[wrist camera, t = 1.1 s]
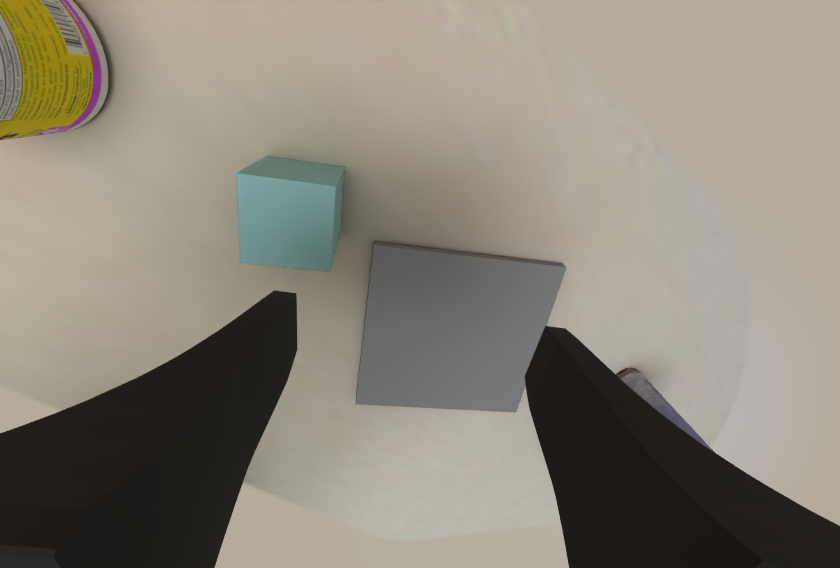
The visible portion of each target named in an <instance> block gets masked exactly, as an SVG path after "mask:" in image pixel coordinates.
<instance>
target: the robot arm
mask: <svg viewBox="0 0 840 568" xmlns="http://www.w3.org/2000/svg"><path fill="white" fill-rule="evenodd" d="M296 351H297V299H296V293H289V292H281V291H273V292H272V293H270V294H269V295H267V296H266V297H265V298H263V299H262V300H260V301H259V302H258V303H256V304H255V305H254V306H252V307H251V308H250V309H248V310H247V311H246V312H244V313H243V314H241V315H240V316H239V317H237V318H236V319H234V320H233V321H232V322H230V323H229V324H227V325H226V326H224V327H223V328H222V329H220V330H219V331H217V332H216V333H214V334H213V335H211V336H209V337H208V338H206V339H205V340H203V341H202V342H200V343H198V344H197V345H195V346H194V347H192V348H191V349H189V350H187V351H186V352H184V353H182V354H181V355H179V356H177V357H175V358H174V359H172V360H170V361H168V362H166V363H165V364H163V365H161V366H159V367H157V368H155V369H153V370H151V371H149V372H147V373H146V374H144V375H142V376H140V377H138V378H136V379H133V380H131V381H129V382H127V383H125V384H122V385H120V386H118V387H116V388H114V389H111V390H109V391H107V392H105V393H103V394H100V395H98V396H96V397H94V398H92V399H89V400H87V401H85V402H82V403H80V404H77V405H75V406H72V407H70V408H67V409H65V410H62V411H60V412H58V413H55V414H53V415H50V416H47V417H44V418H42V419H39V420H37V421H34V422H31V423H28V424H26V425H23V426H20V427H17V428H15V429H12V430H9V431H6V432H3V433H0V568H214V567H215V564H216V561H217V558H218V555H219V551H220V548H221V545H222V542H223V539H224V536H225V533H226V530H227V527H228V524H229V521H230V518H231V515H232V512H233V509H234V506H235V503H236V500H237V497H238V494H239V492H240V489H241V486H242V483H243V480H244V477H245V475H246V472H247V469H248V466H249V464H250V462H251V459H252V457H253V454H254V452H255V450H256V448H257V445H258V443H259V441H260V439H261V437H262V435H263V432H264V430H265V428H266V426H267V424H268V422H269V420H270V417H271V415H272V413H273V411H274V409H275V407H276V404H277V402H278V400H279V398H280V396H281V394H282V391H283V389H284V387H285V385H286V382H287V380H288V377H289V374H290V371H291V368H292V365H293V361H294V358H295V355H296ZM525 383H526V390H527V397H528V402H529V408H530V412H531V415H532V418H533V422H534V425H535V429H536V432H537V435H538V438H539V442H540V445H541V448H542V451H543V455H544V458H545V461H546V464H547V468H548V471H549V474H550V477H551V481H552V484H553V488H554V492H555V496H556V500H557V505H558V510H559V515H560V520H561V525H562V530H563V535H564V540H565V546H566V552H567V558H568V564H569V568H840V526H839V525H837V524H835V523H833V522H831V521H829V520H827V519H825V518H823V517H821V516H819V515H817V514H816V513H814V512H812V511H810V510H808V509H806V508H805V507H803V506H801V505H799V504H797V503H796V502H794V501H792V500H790V499H789V498H787V497H785V496H784V495H782V494H780V493H778V492H777V491H775V490H773V489H772V488H770V487H768V486H766V485H765V484H763V483H761V482H760V481H758V480H756V479H755V478H753V477H752V476H750V475H748V474H747V473H745V472H744V471H742V470H740V469H739V468H737V467H735V466H734V465H733V464H731V463H730V462H728V461H726V460H725V459H724V458H722V457H721V456H719V455H717V454H716V453H714V452H713V451H711V450H710V449H708V448H707V447H706V446H704V445H703V444H701V443H700V442H698V441H697V440H696V439H694V438H693V437H691V436H690V435H689V434H687V433H686V432H685V431H683V430H682V429H681V428H679V427H678V426H677V425H675V424H674V423H673V422H671V421H670V420H669V419H667V418H666V417H665V416H663V415H662V414H661V413H660V412H658V411H657V410H656V409H655V408H654V407H652V406H651V405H650V404H649V403H648V402H646V401H645V400H644V399H643V398H642V397H640V396H639V395H638V394H637V393H636V392H635V391H633V390H632V389H631V388H630V387H629V386H628V385H627V384H625V383H624V382H623V381H622V380H621V379H620V378H619V377H618V376H617V375H615V374H614V373H613V372H612V371H611V370H610V369H609V368H608V367H607V366H606V365H605V364H604V363H603V362H601V361H600V360H599V359H598V358H597V357H596V356H595V355H594V354H593V353H592V352H591V351H590V350H589V349H588V348H587V347H586V346H584V345H583V344H582V343H581V342H580V341H579V340H578V339H577V338H576V337H575V336H574V335H572V334H571V333H570V332H569V331H568V330H566V329H564V328H557V327H549V326H545V328H544V330H543V332H542V335H541V337H540V340H539V342H538V345H537V347H536V350H535V352H534V354H533V357H532V359H531V362H530V364H529V367H528V369H527V371H526V374H525Z"/></svg>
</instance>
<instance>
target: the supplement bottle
mask: <svg viewBox="0 0 840 568" xmlns="http://www.w3.org/2000/svg"><path fill="white" fill-rule="evenodd" d="M107 91H108V68H107V62H106V58H105V54H104V51H103V48H102V45H101V43H100V40H99V38H98V36H97V34H96V32H95V30H94V28H93V27H92V25H91V24H90V22H89V20H88V19H87V18H86V16H85V15H84V13H83V12H82V11H81V10H80V8H79V7H78V6H77V5H76V4H75V3H74V2H73V0H0V140H5V139H12V138H21V137H28V136H37V135H44V134H52V133H57V132H63V131H68V130H72V129H75V128H77V127H79V126H81V125H83V124H85V123H87V122H88V121H89V120H91V119H92V118H93V117H94V116H95V115H96V114H97V113H98V111H99V110H100V108H101V107H102V105H103V103H104V101H105V98H106V95H107Z"/></svg>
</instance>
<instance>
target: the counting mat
mask: <svg viewBox="0 0 840 568" xmlns="http://www.w3.org/2000/svg"><path fill="white" fill-rule="evenodd" d="M565 270H566V267H565V266H564V265H563V264H562V263H553V262H545V261H536V260H528V259H519V258H510V257H502V256H493V255H485V254H476V253H468V252H459V251H450V250H442V249H433V248H425V247H416V246H408V245H399V244H390V243H382V242H374V246H373V255H372V264H371V272H370V281H369V290H368V299H367V307H366V316H365V325H364V334H363V343H362V351H361V360H360V369H359V378H358V386H357V395H356V404H363V405H383V406H403V407H422V408H442V409H461V410H481V411H501V412H516V411H517V408H518V405H519V402H520V400H521V397H522V394H523V391H524V388H525V385H526V383H525V374H526V371H527V369H528V367H529V364H530V362H531V359H532V357H533V354H534V352H535V350H536V347H537V345H538V342H539V340H540V337H541V335H542V332H543V330H544V328H545V326H546V325H547V322H548V319H549V316H550V313H551V310H552V307H553V304H554V302H555V299H556V296H557V293H558V290H559V287H560V284H561V281H562V278H563V276H564V273H565Z"/></svg>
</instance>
